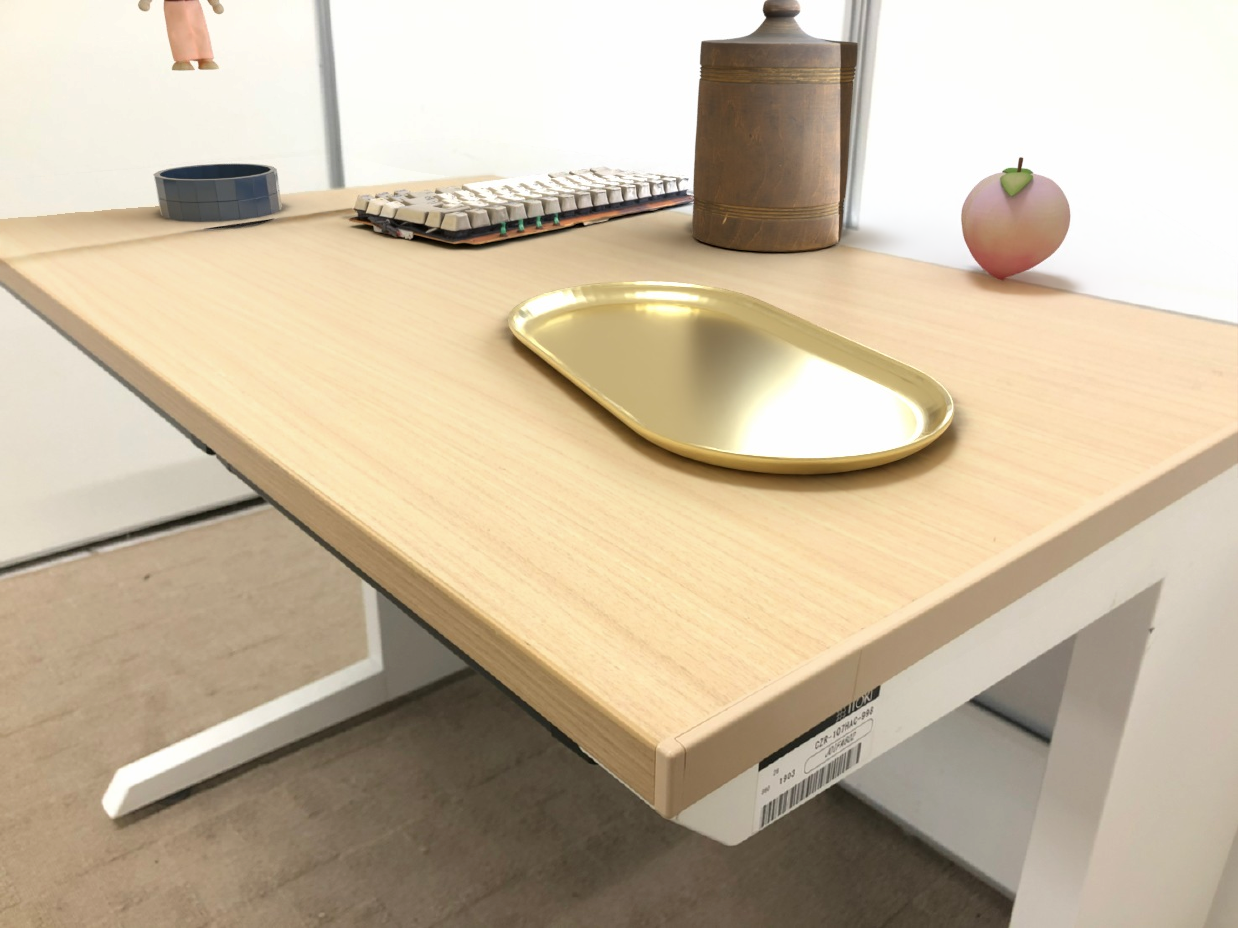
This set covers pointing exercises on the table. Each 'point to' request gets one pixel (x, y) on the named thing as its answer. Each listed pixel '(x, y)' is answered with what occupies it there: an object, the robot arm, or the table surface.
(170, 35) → the grandmother figurine
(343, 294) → the table surface
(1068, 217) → the decorative fruit
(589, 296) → the serving platter
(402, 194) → the mechanical keyboard
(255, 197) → the bowl
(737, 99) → the wooden container
